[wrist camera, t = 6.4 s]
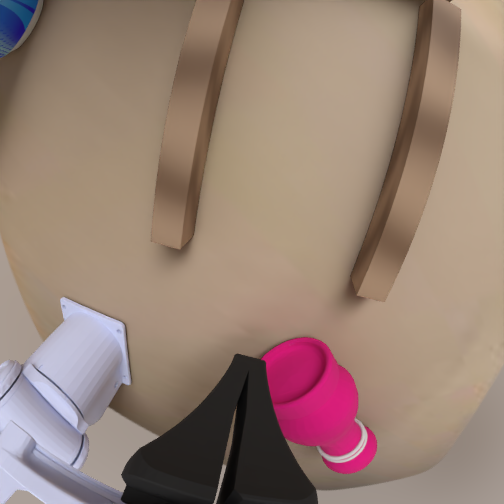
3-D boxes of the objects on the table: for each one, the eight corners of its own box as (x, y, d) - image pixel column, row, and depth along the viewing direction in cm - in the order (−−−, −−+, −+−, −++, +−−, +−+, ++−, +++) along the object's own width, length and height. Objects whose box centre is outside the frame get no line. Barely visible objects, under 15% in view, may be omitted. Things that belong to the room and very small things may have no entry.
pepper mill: (294, 320, 22) (358, 424, 29) (226, 381, 20) (317, 465, 27) (360, 350, 16) (400, 449, 23) (276, 435, 14) (356, 496, 20)
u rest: (375, 282, 19) (384, 302, 16) (166, 228, 19) (151, 241, 17) (445, -13, 9) (459, -25, 6) (239, -68, 9) (231, -86, 7)
